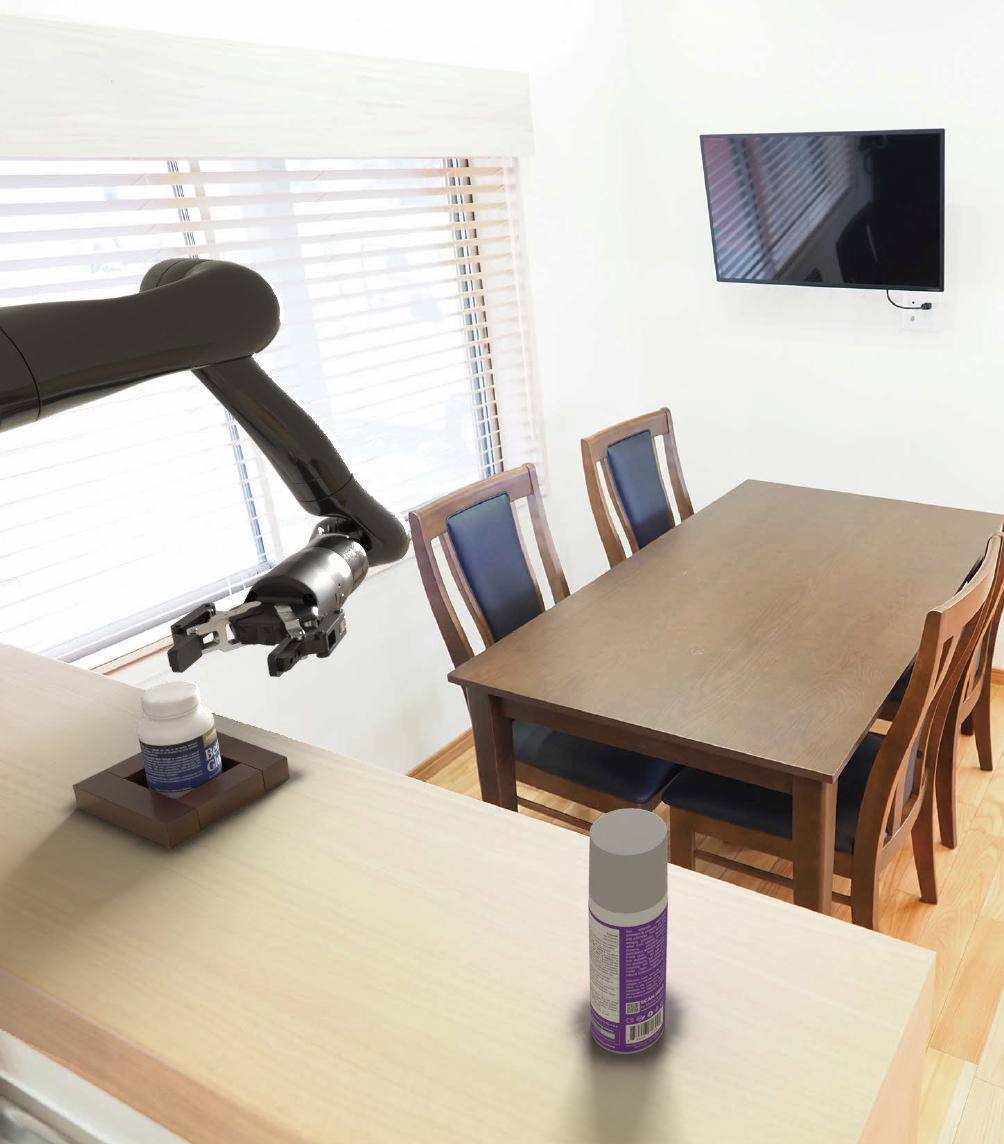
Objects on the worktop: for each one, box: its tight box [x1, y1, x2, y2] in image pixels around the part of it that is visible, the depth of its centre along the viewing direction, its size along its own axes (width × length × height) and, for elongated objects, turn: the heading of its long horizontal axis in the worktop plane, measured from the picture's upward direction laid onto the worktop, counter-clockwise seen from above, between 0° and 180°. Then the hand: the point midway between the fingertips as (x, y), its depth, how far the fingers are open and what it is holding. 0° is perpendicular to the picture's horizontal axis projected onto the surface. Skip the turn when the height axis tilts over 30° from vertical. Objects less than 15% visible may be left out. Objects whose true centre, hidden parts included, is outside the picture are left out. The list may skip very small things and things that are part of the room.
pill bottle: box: [136, 680, 223, 800], centre depth 79 cm, size 5×5×10 cm
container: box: [587, 808, 669, 1055], centre depth 58 cm, size 5×5×15 cm
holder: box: [72, 730, 291, 850], centre depth 80 cm, size 11×11×2 cm
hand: (223, 665), depth 85 cm, fingers open, 8 cm apart
